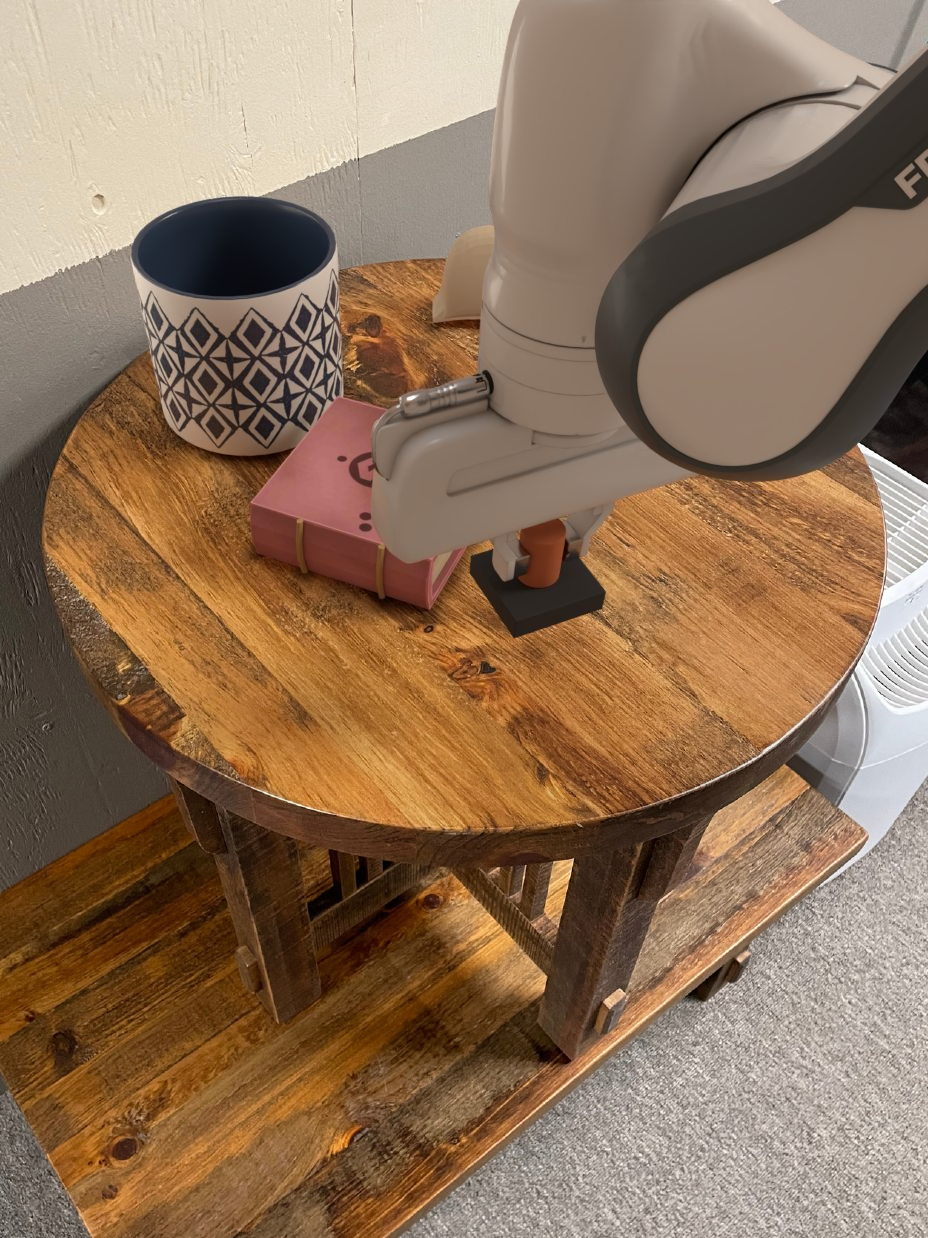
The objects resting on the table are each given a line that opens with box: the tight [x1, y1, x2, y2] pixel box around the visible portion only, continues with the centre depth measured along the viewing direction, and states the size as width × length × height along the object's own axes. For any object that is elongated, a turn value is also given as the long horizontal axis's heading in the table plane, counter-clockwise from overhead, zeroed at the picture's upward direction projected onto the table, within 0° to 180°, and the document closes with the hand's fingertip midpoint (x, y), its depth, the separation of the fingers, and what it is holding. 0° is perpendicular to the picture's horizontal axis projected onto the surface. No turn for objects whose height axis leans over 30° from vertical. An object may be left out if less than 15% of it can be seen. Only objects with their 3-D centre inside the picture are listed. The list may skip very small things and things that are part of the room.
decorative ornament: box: [431, 224, 494, 323], centre depth 94 cm, size 6×12×8 cm, turn 84°
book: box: [249, 396, 468, 611], centre depth 76 cm, size 14×15×5 cm
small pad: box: [469, 518, 607, 639], centre depth 59 cm, size 6×6×5 cm
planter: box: [130, 195, 344, 457], centre depth 82 cm, size 16×16×14 cm
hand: (539, 561), depth 59 cm, fingers closed on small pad, 2 cm apart
